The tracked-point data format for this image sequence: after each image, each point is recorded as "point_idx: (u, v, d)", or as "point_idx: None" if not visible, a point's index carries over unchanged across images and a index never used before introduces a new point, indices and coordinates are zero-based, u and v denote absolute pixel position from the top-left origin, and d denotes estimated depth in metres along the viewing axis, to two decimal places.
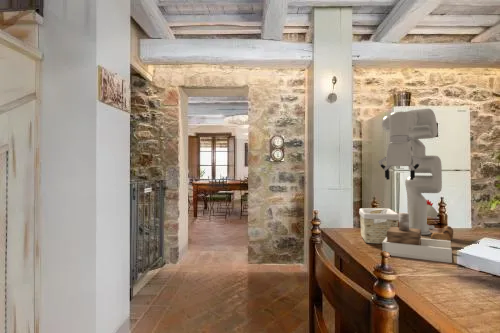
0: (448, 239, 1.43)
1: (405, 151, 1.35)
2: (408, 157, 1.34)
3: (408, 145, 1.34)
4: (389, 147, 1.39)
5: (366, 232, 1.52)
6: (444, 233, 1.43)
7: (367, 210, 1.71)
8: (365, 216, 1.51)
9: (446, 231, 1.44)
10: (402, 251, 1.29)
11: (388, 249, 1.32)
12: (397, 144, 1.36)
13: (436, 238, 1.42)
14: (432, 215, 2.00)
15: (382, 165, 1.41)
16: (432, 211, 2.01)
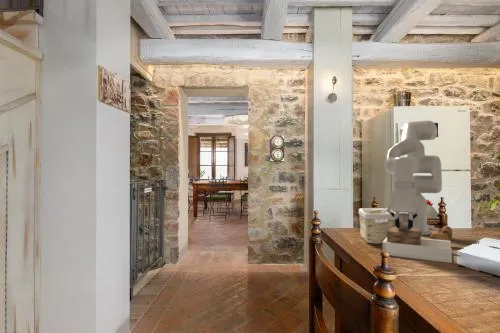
0: (447, 239, 1.43)
1: (410, 197, 1.32)
2: (413, 204, 1.32)
3: (413, 192, 1.32)
4: (393, 193, 1.36)
5: (367, 232, 1.51)
6: (443, 233, 1.43)
7: (366, 210, 1.71)
8: (366, 216, 1.51)
9: (445, 231, 1.44)
10: (402, 251, 1.29)
11: (388, 249, 1.32)
12: (402, 190, 1.34)
13: (435, 238, 1.41)
14: (432, 215, 1.99)
15: (392, 213, 1.37)
16: (432, 211, 2.01)
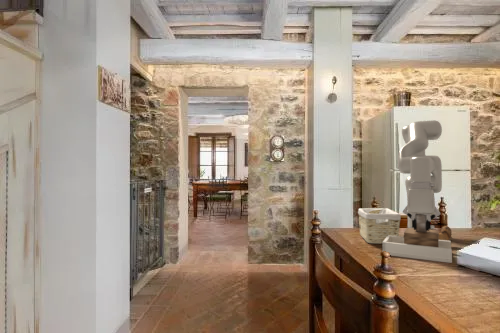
0: (446, 239, 1.43)
1: (428, 198, 1.29)
2: (431, 205, 1.29)
3: (431, 192, 1.29)
4: (410, 193, 1.33)
5: (368, 232, 1.51)
6: (442, 233, 1.43)
7: (366, 210, 1.71)
8: (367, 216, 1.50)
9: (444, 231, 1.43)
10: (402, 251, 1.29)
11: (388, 249, 1.32)
12: (419, 191, 1.30)
13: None
14: None
15: (409, 214, 1.34)
16: None
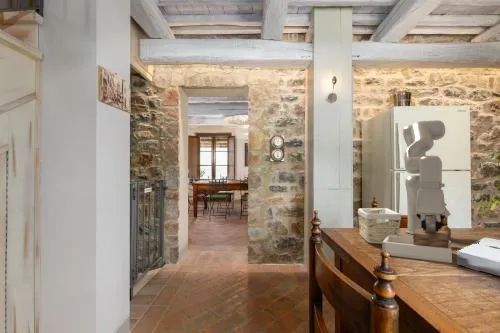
0: None
1: (438, 198, 1.27)
2: (441, 205, 1.27)
3: (441, 192, 1.27)
4: (420, 193, 1.31)
5: (369, 232, 1.51)
6: None
7: (366, 210, 1.71)
8: (368, 216, 1.50)
9: None
10: (402, 251, 1.29)
11: (388, 249, 1.32)
12: (429, 191, 1.29)
13: None
14: None
15: (418, 215, 1.32)
16: None
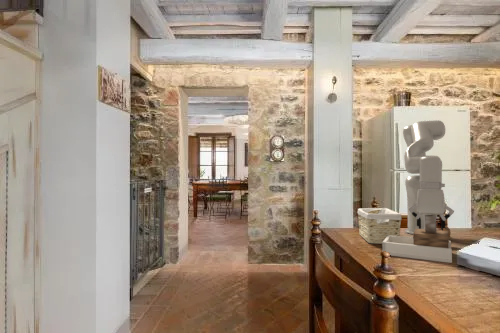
0: None
1: (438, 198, 1.27)
2: (441, 205, 1.27)
3: (441, 193, 1.27)
4: (420, 193, 1.31)
5: (369, 232, 1.51)
6: None
7: (365, 210, 1.71)
8: (368, 216, 1.50)
9: None
10: (402, 251, 1.29)
11: (388, 249, 1.32)
12: (429, 191, 1.29)
13: None
14: None
15: (414, 213, 1.33)
16: None
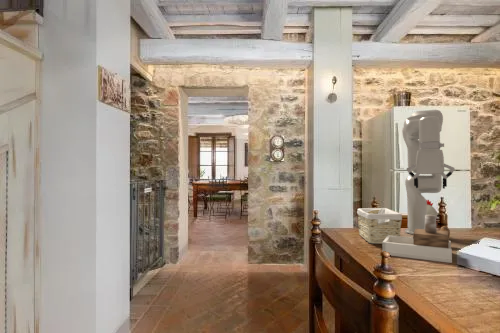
0: None
1: (437, 158, 1.27)
2: (440, 165, 1.27)
3: (440, 152, 1.27)
4: (419, 154, 1.31)
5: (370, 232, 1.51)
6: None
7: (365, 210, 1.71)
8: (369, 216, 1.50)
9: None
10: (402, 251, 1.29)
11: (388, 249, 1.32)
12: (428, 151, 1.29)
13: None
14: None
15: (411, 173, 1.34)
16: (432, 211, 2.01)
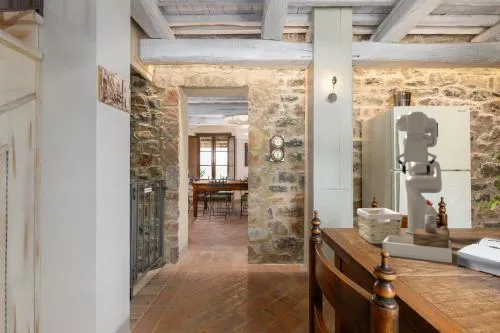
0: None
1: (422, 147, 1.47)
2: (425, 153, 1.47)
3: (424, 142, 1.47)
4: (406, 144, 1.51)
5: (371, 233, 1.50)
6: None
7: (365, 210, 1.71)
8: (370, 216, 1.50)
9: None
10: (402, 251, 1.29)
11: (388, 249, 1.32)
12: (414, 141, 1.49)
13: None
14: None
15: (399, 161, 1.54)
16: (432, 211, 2.01)
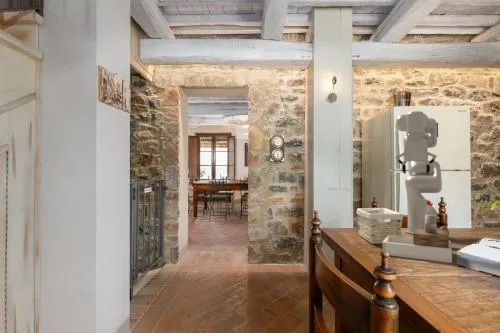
0: None
1: (421, 147, 1.48)
2: (424, 153, 1.47)
3: (424, 142, 1.47)
4: (406, 144, 1.51)
5: (371, 233, 1.50)
6: None
7: (364, 210, 1.71)
8: (371, 216, 1.50)
9: None
10: (402, 251, 1.29)
11: (388, 249, 1.32)
12: (414, 141, 1.49)
13: None
14: None
15: (399, 160, 1.54)
16: (432, 211, 2.01)
